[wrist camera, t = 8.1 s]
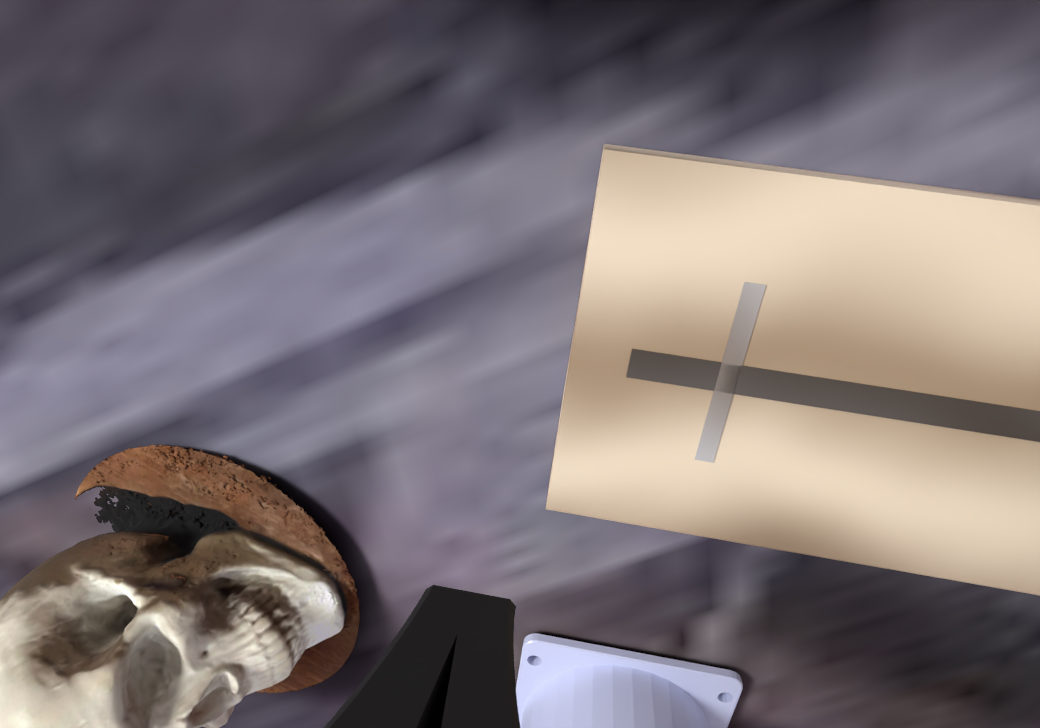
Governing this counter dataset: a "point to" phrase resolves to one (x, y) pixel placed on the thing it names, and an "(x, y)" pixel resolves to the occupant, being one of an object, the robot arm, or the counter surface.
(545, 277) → the counter surface
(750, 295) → the slider board
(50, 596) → the skull
